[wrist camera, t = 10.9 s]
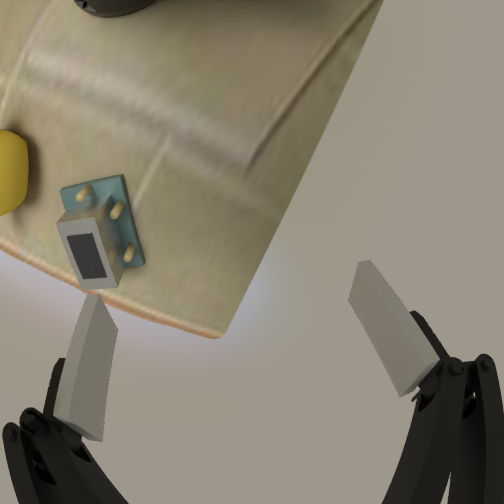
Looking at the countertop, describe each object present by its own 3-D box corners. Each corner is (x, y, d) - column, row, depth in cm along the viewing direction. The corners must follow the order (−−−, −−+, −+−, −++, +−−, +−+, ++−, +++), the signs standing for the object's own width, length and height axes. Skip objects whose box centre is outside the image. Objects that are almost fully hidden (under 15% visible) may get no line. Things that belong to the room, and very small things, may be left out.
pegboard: (62, 187, 32) (49, 200, 28) (122, 174, 33) (112, 185, 30) (90, 267, 41) (82, 285, 37) (144, 261, 42) (140, 279, 38)
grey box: (75, 200, 33) (55, 223, 27) (110, 194, 34) (94, 217, 28) (95, 261, 39) (82, 290, 33) (127, 258, 40) (117, 288, 34)
